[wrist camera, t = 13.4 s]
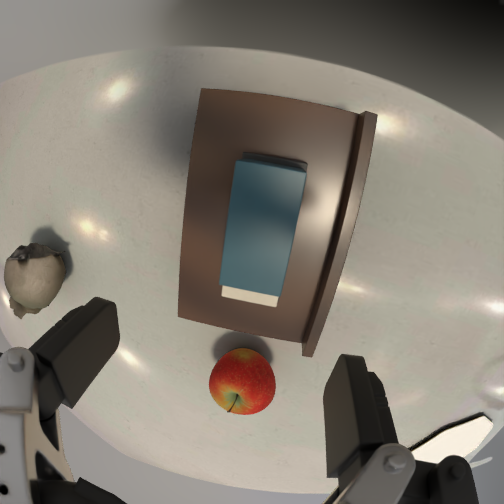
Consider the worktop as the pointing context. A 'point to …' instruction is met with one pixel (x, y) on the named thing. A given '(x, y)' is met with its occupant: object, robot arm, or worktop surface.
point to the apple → (242, 382)
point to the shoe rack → (310, 216)
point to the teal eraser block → (261, 227)
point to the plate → (454, 441)
